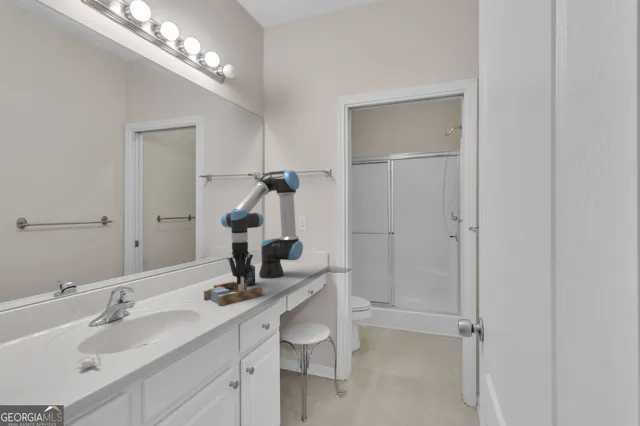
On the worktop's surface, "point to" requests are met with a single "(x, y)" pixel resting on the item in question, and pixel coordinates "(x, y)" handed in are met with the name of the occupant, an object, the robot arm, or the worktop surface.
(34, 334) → the worktop surface
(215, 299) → the block
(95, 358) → the dove figurine
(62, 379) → the worktop surface
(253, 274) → the box
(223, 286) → the wooden zigzag frame
